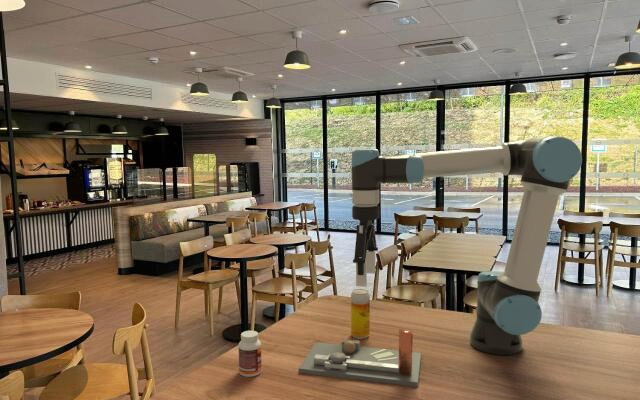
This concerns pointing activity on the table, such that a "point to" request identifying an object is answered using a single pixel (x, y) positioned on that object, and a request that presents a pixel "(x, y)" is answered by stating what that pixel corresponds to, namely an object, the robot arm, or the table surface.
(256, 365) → the pill bottle
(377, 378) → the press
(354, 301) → the beer can
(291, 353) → the table surface
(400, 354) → the lever
